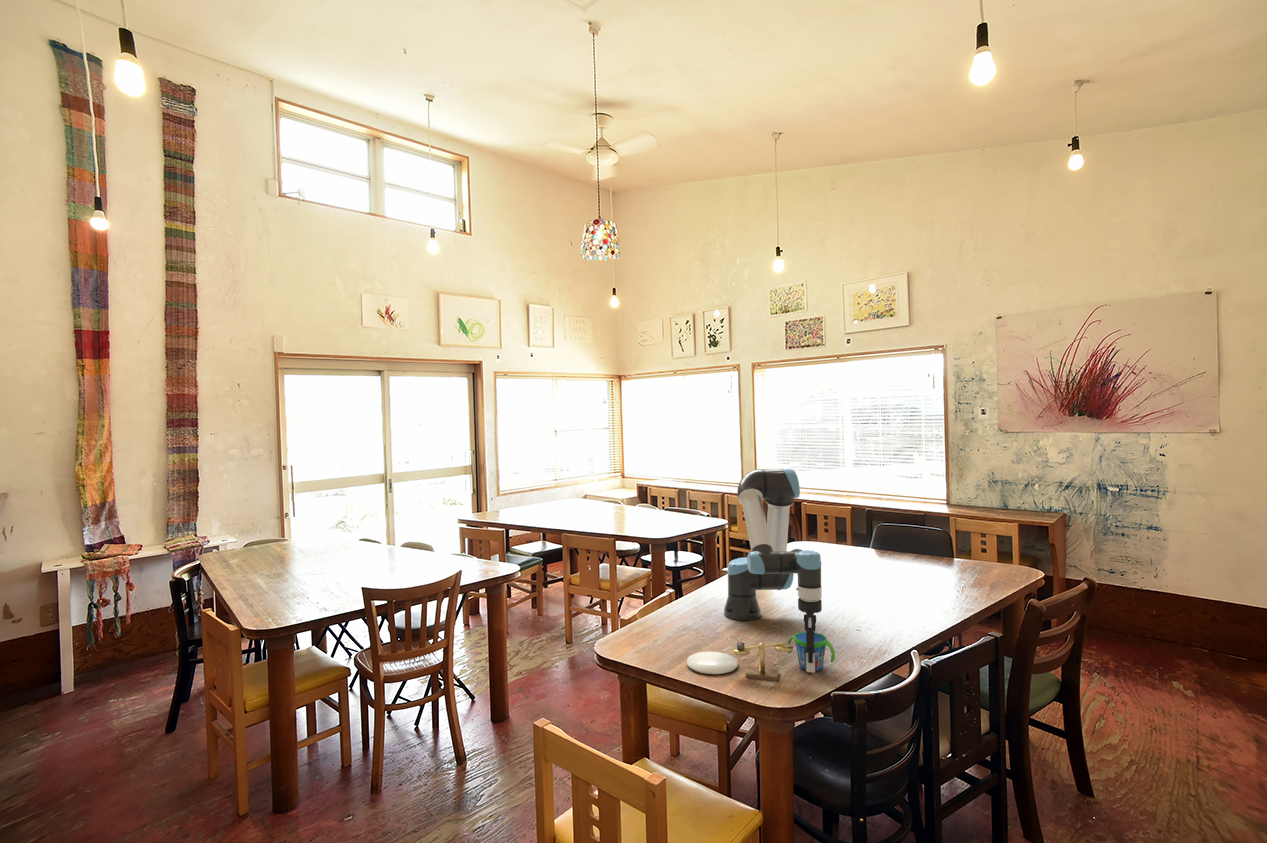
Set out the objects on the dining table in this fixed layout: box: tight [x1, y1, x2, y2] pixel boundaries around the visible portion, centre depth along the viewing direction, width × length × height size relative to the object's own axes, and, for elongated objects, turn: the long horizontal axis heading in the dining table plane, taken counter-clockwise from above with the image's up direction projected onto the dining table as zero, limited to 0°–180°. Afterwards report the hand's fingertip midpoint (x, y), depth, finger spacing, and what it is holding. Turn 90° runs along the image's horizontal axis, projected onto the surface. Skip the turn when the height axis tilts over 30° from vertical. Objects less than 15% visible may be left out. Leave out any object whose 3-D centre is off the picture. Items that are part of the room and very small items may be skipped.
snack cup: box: [787, 631, 836, 672], centre depth 201 cm, size 16×11×10 cm
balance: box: [731, 641, 794, 682], centre depth 196 cm, size 6×20×11 cm, turn 73°
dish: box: [686, 651, 739, 675], centre depth 204 cm, size 17×17×1 cm
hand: (810, 665), depth 201 cm, fingers closed on snack cup, 9 cm apart
